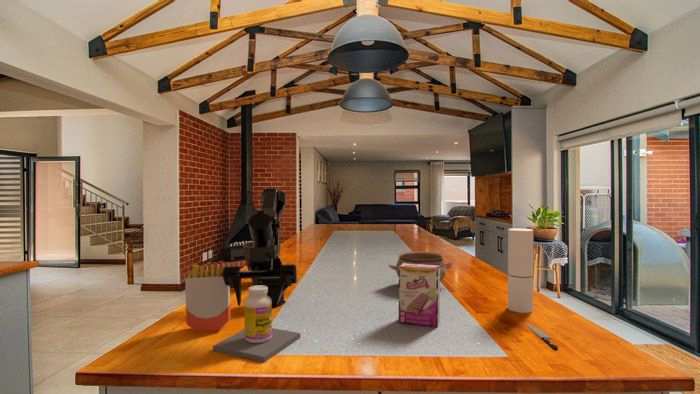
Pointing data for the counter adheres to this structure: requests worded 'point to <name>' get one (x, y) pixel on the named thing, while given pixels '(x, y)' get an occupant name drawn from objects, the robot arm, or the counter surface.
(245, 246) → the plant pot
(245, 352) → the charcoal mat
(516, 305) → the cylindrical container
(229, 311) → the french fries container
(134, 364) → the counter surface
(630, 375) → the counter surface
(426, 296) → the candy bar box
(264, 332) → the supplement bottle
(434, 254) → the cooking pot
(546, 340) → the chef's knife
